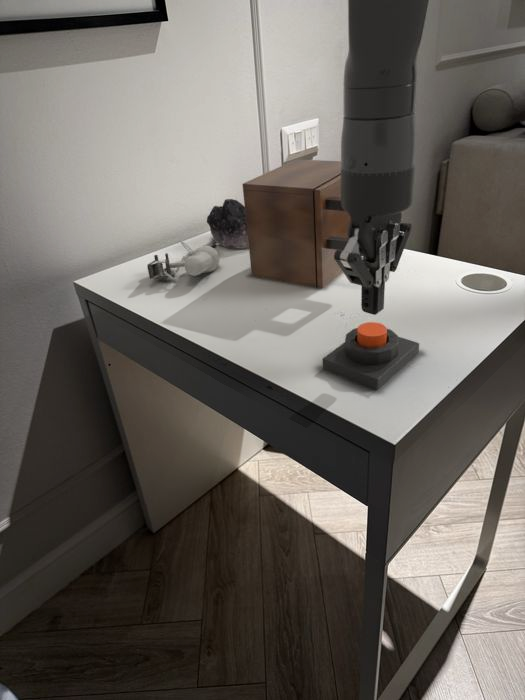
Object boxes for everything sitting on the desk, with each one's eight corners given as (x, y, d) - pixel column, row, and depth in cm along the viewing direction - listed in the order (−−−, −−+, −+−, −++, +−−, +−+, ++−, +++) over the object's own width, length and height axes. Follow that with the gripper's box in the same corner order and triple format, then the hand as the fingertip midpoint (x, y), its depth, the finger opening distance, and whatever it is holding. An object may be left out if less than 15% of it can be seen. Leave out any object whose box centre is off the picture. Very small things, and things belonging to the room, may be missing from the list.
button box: (365, 339, 72) (366, 314, 70) (418, 357, 68) (420, 330, 65) (322, 373, 66) (322, 346, 64) (377, 394, 62) (378, 366, 59)
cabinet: (358, 253, 100) (360, 161, 91) (316, 290, 87) (312, 188, 79) (299, 245, 106) (295, 159, 98) (252, 279, 94) (242, 183, 85)
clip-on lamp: (179, 269, 109) (145, 287, 92) (173, 238, 107) (137, 251, 90) (233, 263, 106) (208, 280, 89) (228, 231, 104) (201, 243, 88)
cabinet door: (394, 257, 96) (399, 164, 88) (355, 296, 84) (355, 192, 75) (360, 252, 100) (361, 162, 91) (317, 290, 87) (314, 189, 78)
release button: (367, 331, 67) (367, 319, 66) (391, 339, 65) (392, 327, 64) (351, 343, 65) (351, 331, 64) (376, 351, 63) (376, 339, 62)
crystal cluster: (272, 230, 118) (265, 185, 114) (276, 245, 106) (268, 196, 102) (214, 240, 119) (205, 196, 114) (212, 257, 107) (201, 208, 102)
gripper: (374, 180, 47) (369, 343, 56) (441, 151, 55) (427, 298, 64) (309, 172, 52) (314, 324, 61) (379, 147, 60) (374, 284, 69)
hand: (372, 310), depth 63 cm, fingers closed
